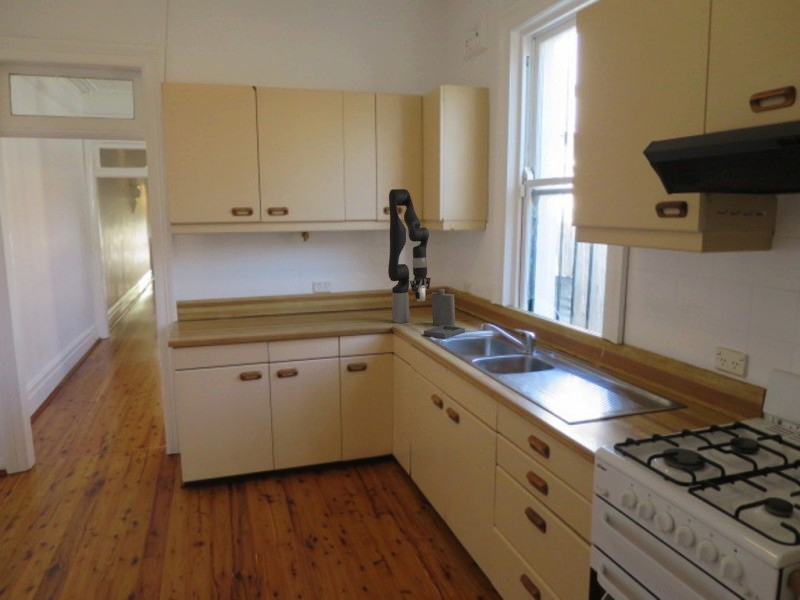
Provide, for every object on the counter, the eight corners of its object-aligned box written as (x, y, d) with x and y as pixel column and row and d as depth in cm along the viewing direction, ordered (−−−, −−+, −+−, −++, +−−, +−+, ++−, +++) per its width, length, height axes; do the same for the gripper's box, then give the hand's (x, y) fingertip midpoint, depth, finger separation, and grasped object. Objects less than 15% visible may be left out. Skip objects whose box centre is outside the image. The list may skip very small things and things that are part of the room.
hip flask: (456, 326, 309) (455, 290, 306) (451, 327, 307) (450, 291, 303) (435, 323, 321) (434, 287, 318) (430, 324, 319) (429, 288, 315)
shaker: (415, 300, 301) (414, 286, 299) (420, 299, 304) (420, 284, 303) (421, 301, 298) (421, 286, 296) (427, 300, 301) (426, 285, 299)
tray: (423, 335, 292) (423, 330, 292) (443, 329, 303) (443, 324, 303) (445, 338, 282) (444, 333, 282) (464, 332, 294) (464, 327, 293)
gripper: (423, 264, 305) (424, 295, 308) (405, 267, 295) (406, 299, 298) (434, 264, 300) (435, 296, 303) (416, 268, 290) (417, 301, 293)
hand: (421, 298), depth 300 cm, fingers closed on shaker, 4 cm apart
